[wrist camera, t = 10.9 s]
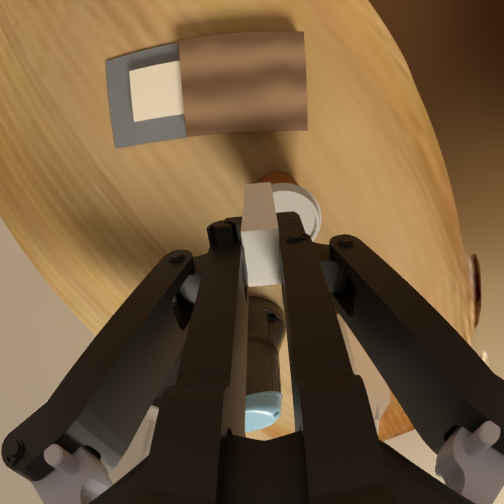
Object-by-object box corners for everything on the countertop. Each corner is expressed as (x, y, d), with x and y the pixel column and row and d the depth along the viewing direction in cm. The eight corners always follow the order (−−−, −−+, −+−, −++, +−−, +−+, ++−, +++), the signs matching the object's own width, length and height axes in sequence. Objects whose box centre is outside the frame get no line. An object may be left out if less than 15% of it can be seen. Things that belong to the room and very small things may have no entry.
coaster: (189, 112, 36) (186, 113, 35) (139, 120, 37) (134, 122, 35) (185, 61, 32) (182, 60, 31) (134, 71, 33) (129, 71, 31)
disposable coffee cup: (316, 205, 44) (333, 242, 34) (262, 228, 46) (263, 270, 36) (293, 151, 40) (306, 173, 29) (235, 177, 42) (227, 207, 32)
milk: (336, 358, 64) (355, 453, 42) (303, 343, 61) (315, 449, 39) (373, 330, 59) (405, 429, 37) (341, 311, 56) (371, 424, 34)
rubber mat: (186, 137, 39) (186, 137, 38) (116, 148, 39) (115, 148, 39) (179, 43, 31) (178, 42, 31) (106, 61, 31) (105, 61, 31)
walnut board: (303, 127, 38) (307, 130, 34) (193, 133, 38) (186, 136, 35) (299, 37, 30) (303, 31, 27) (185, 44, 31) (178, 40, 28)
